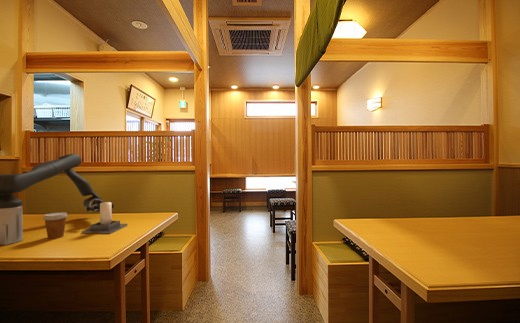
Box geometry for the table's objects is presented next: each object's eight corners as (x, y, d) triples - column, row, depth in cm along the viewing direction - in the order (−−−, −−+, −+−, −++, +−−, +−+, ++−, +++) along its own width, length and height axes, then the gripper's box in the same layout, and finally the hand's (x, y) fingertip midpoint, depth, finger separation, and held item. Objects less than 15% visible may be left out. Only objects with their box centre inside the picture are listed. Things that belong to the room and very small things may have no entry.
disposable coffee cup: (72, 234, 129) (72, 212, 129) (55, 240, 119) (55, 216, 119) (56, 233, 130) (56, 211, 130) (38, 239, 120) (38, 216, 120)
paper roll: (107, 228, 135) (107, 203, 135) (97, 228, 135) (97, 203, 135) (113, 225, 141) (113, 202, 141) (104, 225, 141) (104, 201, 141)
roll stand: (110, 233, 130) (110, 226, 130) (81, 233, 130) (81, 226, 130) (127, 225, 146) (127, 219, 146) (101, 225, 146) (101, 219, 146)
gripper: (83, 200, 152) (88, 204, 140) (109, 198, 161) (115, 201, 150) (83, 212, 152) (88, 216, 140) (109, 209, 161) (115, 213, 150)
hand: (102, 208), depth 145 cm, fingers open, 8 cm apart
